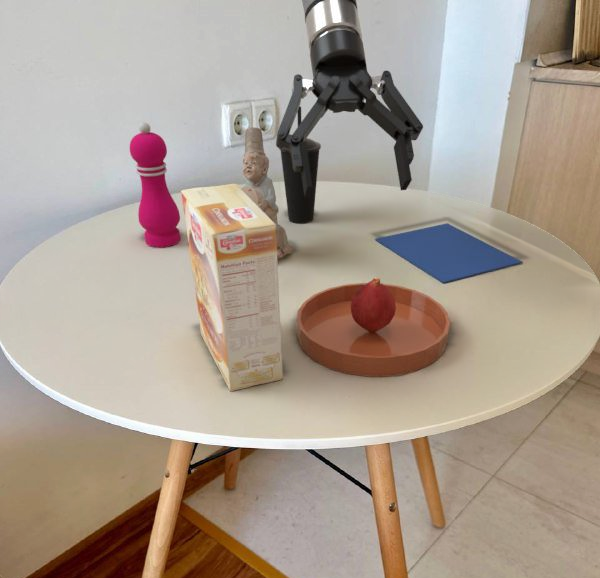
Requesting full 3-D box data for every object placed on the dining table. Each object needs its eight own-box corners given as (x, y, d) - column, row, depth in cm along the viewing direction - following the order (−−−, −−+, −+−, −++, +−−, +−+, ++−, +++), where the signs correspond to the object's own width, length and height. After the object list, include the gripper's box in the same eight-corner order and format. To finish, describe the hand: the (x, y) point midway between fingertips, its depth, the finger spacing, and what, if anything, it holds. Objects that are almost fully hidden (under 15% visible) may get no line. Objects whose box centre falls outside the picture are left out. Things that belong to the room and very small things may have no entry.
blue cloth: (522, 263, 97) (522, 261, 97) (443, 283, 92) (443, 281, 92) (447, 224, 112) (447, 223, 112) (375, 240, 106) (375, 238, 106)
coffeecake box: (199, 333, 81) (178, 189, 69) (248, 323, 83) (237, 181, 71) (228, 393, 70) (210, 233, 58) (285, 380, 72) (278, 222, 60)
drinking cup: (302, 209, 120) (300, 100, 108) (328, 219, 115) (330, 106, 103) (273, 219, 116) (268, 107, 104) (299, 229, 111) (297, 113, 99)
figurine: (258, 242, 106) (251, 122, 94) (300, 250, 103) (297, 127, 91) (231, 260, 100) (219, 134, 88) (274, 270, 97) (268, 140, 85)
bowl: (478, 351, 76) (482, 332, 74) (343, 393, 69) (344, 373, 68) (392, 289, 91) (394, 272, 89) (273, 319, 84) (273, 301, 82)
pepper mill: (157, 231, 111) (138, 116, 99) (190, 236, 109) (175, 119, 97) (135, 245, 106) (111, 125, 94) (169, 251, 104) (149, 129, 92)
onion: (344, 338, 78) (346, 283, 74) (357, 318, 83) (359, 265, 78) (387, 346, 77) (391, 290, 72) (397, 325, 81) (403, 271, 76)
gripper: (413, 62, 88) (436, 195, 85) (246, 69, 85) (265, 208, 82) (429, 23, 81) (455, 167, 78) (247, 29, 77) (268, 180, 75)
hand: (357, 189), depth 80 cm, fingers open, 13 cm apart
